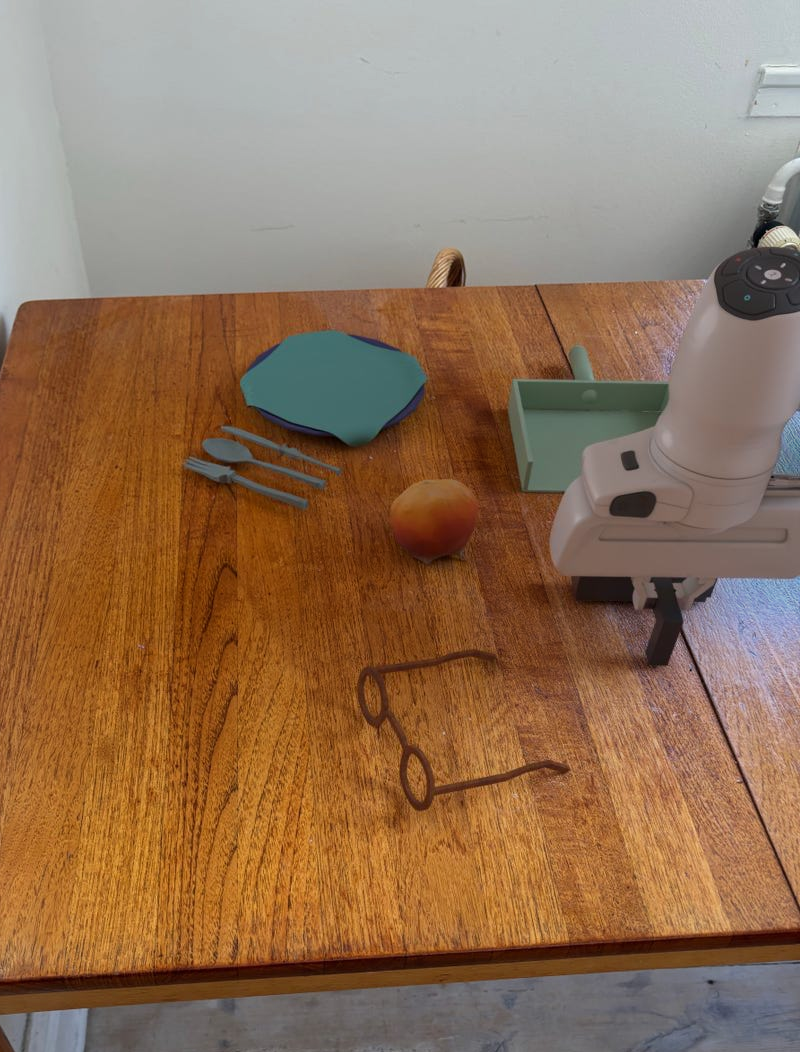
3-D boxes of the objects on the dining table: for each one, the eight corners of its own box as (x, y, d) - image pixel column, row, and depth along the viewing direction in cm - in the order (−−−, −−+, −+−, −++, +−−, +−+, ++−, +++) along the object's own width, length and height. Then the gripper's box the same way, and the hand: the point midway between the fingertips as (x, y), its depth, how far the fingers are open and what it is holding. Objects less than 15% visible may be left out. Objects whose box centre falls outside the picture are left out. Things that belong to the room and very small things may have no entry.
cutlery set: (454, 379, 118) (456, 361, 117) (318, 527, 101) (318, 508, 99) (304, 330, 125) (304, 313, 123) (152, 461, 107) (150, 443, 106)
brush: (568, 579, 95) (579, 534, 91) (700, 581, 95) (717, 536, 91) (586, 664, 88) (599, 620, 84) (729, 667, 88) (748, 622, 84)
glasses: (352, 698, 86) (354, 658, 82) (494, 657, 89) (502, 616, 85) (419, 825, 78) (424, 786, 74) (572, 775, 81) (585, 735, 77)
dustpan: (692, 495, 104) (702, 464, 102) (522, 492, 104) (528, 461, 102) (646, 366, 120) (654, 336, 118) (499, 363, 121) (503, 334, 118)
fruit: (424, 583, 93) (408, 496, 91) (387, 569, 100) (372, 488, 98) (502, 558, 95) (488, 473, 93) (461, 547, 103) (447, 467, 100)
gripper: (831, 450, 80) (773, 581, 90) (563, 446, 80) (535, 577, 90) (859, 502, 75) (794, 634, 85) (575, 499, 76) (544, 630, 86)
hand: (659, 605), depth 88 cm, fingers closed on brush
